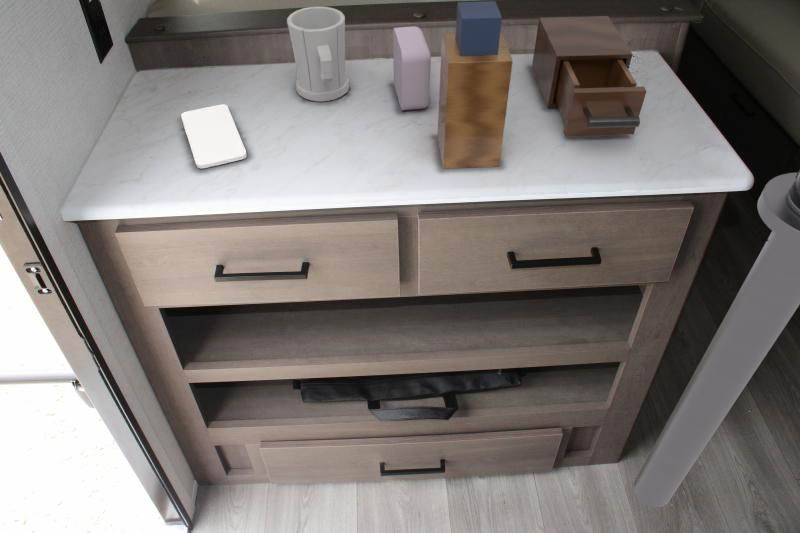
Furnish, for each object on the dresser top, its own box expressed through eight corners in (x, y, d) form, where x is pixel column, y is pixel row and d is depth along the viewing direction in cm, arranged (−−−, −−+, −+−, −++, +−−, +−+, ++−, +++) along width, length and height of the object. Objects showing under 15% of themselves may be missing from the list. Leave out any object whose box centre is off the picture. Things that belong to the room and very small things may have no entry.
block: (491, 37, 83) (495, 0, 79) (497, 55, 79) (502, 17, 76) (455, 38, 82) (457, 2, 79) (459, 56, 79) (462, 18, 76)
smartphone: (196, 166, 89) (179, 112, 98) (197, 170, 89) (181, 117, 99) (247, 154, 91) (226, 103, 100) (248, 159, 91) (227, 107, 101)
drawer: (642, 151, 90) (656, 106, 85) (571, 153, 90) (581, 108, 85) (610, 91, 102) (621, 49, 97) (547, 93, 102) (555, 51, 97)
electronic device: (431, 111, 100) (433, 51, 93) (402, 114, 99) (402, 54, 92) (421, 80, 107) (422, 22, 100) (393, 82, 106) (393, 24, 99)
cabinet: (618, 106, 100) (632, 54, 94) (547, 108, 100) (556, 56, 94) (596, 66, 110) (608, 15, 104) (531, 68, 110) (539, 17, 103)
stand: (490, 135, 95) (501, 32, 84) (499, 166, 89) (512, 60, 78) (437, 137, 95) (441, 33, 83) (443, 168, 89) (448, 62, 78)
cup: (368, 90, 105) (365, 18, 96) (330, 113, 100) (323, 40, 91) (322, 70, 109) (315, 1, 101) (284, 91, 104) (273, 20, 96)
